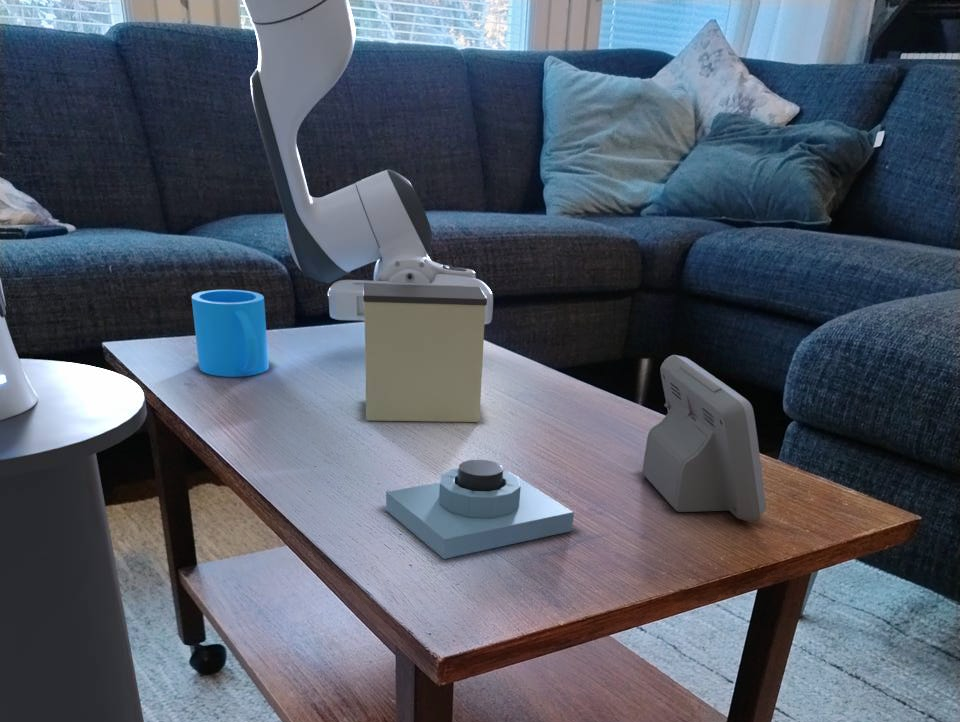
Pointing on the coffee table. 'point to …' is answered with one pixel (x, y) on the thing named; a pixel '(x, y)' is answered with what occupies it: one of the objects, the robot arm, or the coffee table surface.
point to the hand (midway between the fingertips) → (414, 316)
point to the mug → (230, 332)
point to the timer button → (480, 475)
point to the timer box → (477, 514)
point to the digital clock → (705, 445)
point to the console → (423, 352)
